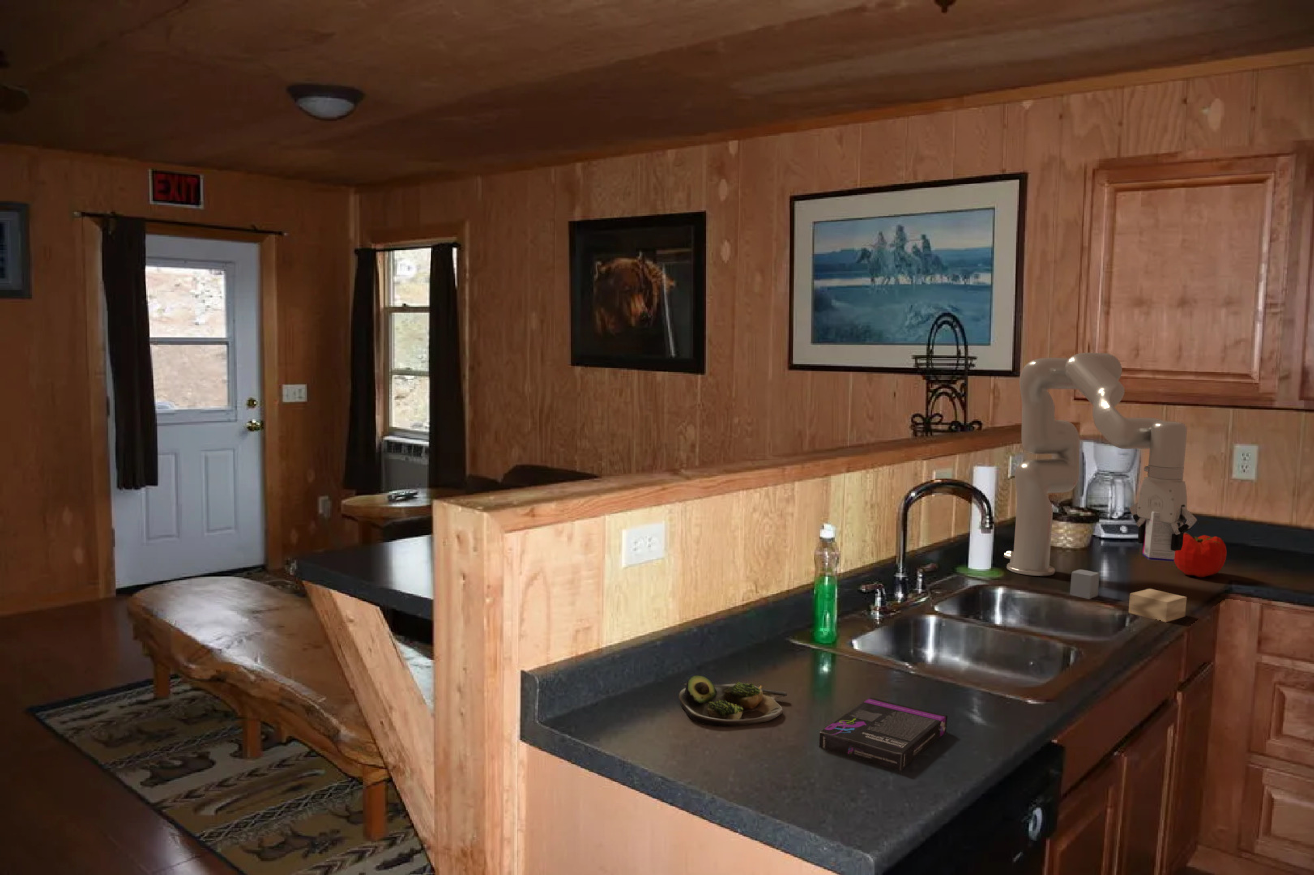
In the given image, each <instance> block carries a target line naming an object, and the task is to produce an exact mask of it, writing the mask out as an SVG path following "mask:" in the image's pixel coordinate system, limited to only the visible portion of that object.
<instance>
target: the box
mask: <svg viewBox="0 0 1314 875" xmlns="http://www.w3.org/2000/svg"><path fill="white" fill-rule="evenodd" d="M947 725H948V715H947V714H943V713H938V712H934V711H929V710H924V709H921V708H916V707H912V706H907V705H902V704H898V703H893V702H890V701H886V700H882V699H878V698H875V697H869V698H868V699H866V700H865V701H863V702H861V703H860V704H859V705H857V706H856V707H854V708H853V709H852V710H850V711H848V712H847V713H845V714H844V715H842V716H841V717H839V718H838V719H837V720H835V721H834V722H833V723H831V724H829V725H828V726H826V727H825V728H824V729H822V730H820V731H819V738H818V743H819V744H818V746H819V748H823V749H825V750H829V751H833V752H836V753H839V754H842V755H846V756H849V757H853V758H856V759H858V760H863V761H866V762H870V763H872V764H876V765H880V766H883V767H886V768H890V769H893V770H895V771H896V770H897V771H900V772H901V771H902V770H904V769H905V768H906V767H907V766H909V764H911V763H912V762H913V761H914V760H915V759H916V758H918V757H919V756H920V755H921V754H923V753H924V751H926V750H927V749H928V748H929V747H931V745H932V744H934V743H935V742H936V741H937V740H939V739H940V738H941V737H942V736H943V735H944V734H945V733H946V732H947V727H948V726H947Z"/></svg>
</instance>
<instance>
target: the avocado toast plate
mask: <svg viewBox="0 0 1314 875" xmlns="http://www.w3.org/2000/svg"><path fill="white" fill-rule="evenodd" d="M684 685H685V687H684V688H683V689H681V690H680V692H679V693H678V700H679V702H680V705H681V707H682V709H683V711H684V712H685V714H686V716H688V717H689V718H690V719H691V720H693V721H695V722H697V723H698V724H702V725H705V726H711V727H712V726H714V727H734V726H735V727H736V726H746V725H754V724H759V723H762V722H764V723H765V722H768V721H771V720H774V719H775V718H776V717H779V716H780V715H781V714H782V713H783V712H784V710H783V707H782V706H781V705H780V704H779V703H778V702H777V701H776V699H779V698H784V697H787V695H788V692H785V691H778V690H772V689H763V685H761V684H760V686H756V685H754V683H753V682H752V683H747V682H745V683H743V682H739V681H737V682H736V683H730V684H714V683H713V682H712V680H710V679H708V678H707V677H705V676H703V675H697V674H696V675H694V676H693V675H692V676H691V677H690V678H689V679H688V680H687V682H686V683H684ZM754 711H758V712H760V713H762V715H761V716H760V717H756V718H755V717H754V718H744V719H742V715H743V714H744V713H747V712H754Z"/></svg>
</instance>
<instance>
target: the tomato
mask: <svg viewBox="0 0 1314 875" xmlns="http://www.w3.org/2000/svg"><path fill="white" fill-rule="evenodd" d="M1227 553H1228V552H1227V547H1226V543H1225V542H1224V540H1222V538H1221V537H1218V536H1209V535H1205V534H1203V535H1200V536H1198V537H1197V536H1192V535H1191V534H1190V533H1188V532H1186V533H1185V534H1184V535H1183V546H1182V549H1181V550H1177V551H1175V557H1174V561H1173V562H1174V565H1175V566H1176V568H1178V570H1179V571H1181V572H1182V573H1184V575H1187V576H1195V577H1197V578H1205V577H1210V576H1214V575H1215V574H1217V573H1219V572H1221V569H1222V568H1223V567H1224V564H1225V562H1226V559H1227Z"/></svg>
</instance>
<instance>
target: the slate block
mask: <svg viewBox="0 0 1314 875" xmlns="http://www.w3.org/2000/svg"><path fill="white" fill-rule="evenodd" d="M1070 575H1071V576H1070V588H1069V589H1070V590H1069V595H1070V596H1073V597H1079V598H1083V599H1086V600H1087V599H1088V600H1091V599H1092V598H1093V599H1094V598H1096V597H1098V596H1099V583H1100V572H1098V571H1097V572H1096V571H1091V570H1086V569H1082V568H1081V569H1077V570H1073V571H1071V574H1070Z"/></svg>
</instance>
